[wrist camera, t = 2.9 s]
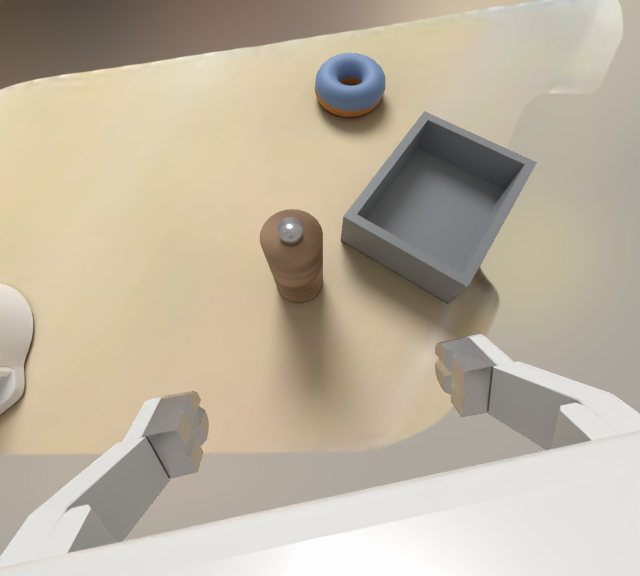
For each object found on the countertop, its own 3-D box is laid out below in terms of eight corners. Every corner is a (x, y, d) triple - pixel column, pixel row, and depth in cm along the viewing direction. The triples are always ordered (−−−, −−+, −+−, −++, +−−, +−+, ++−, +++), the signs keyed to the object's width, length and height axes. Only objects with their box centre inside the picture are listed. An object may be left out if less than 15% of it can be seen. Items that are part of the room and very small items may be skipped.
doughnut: (387, 120, 43) (392, 86, 39) (316, 125, 43) (313, 93, 39) (379, 78, 47) (383, 44, 43) (315, 83, 48) (313, 50, 44)
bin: (447, 303, 33) (468, 287, 29) (340, 240, 36) (343, 216, 32) (510, 191, 39) (536, 162, 34) (412, 144, 41) (424, 111, 37)
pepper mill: (305, 311, 33) (297, 269, 23) (267, 286, 34) (243, 235, 24) (331, 275, 35) (335, 220, 24) (294, 252, 36) (283, 190, 25)
